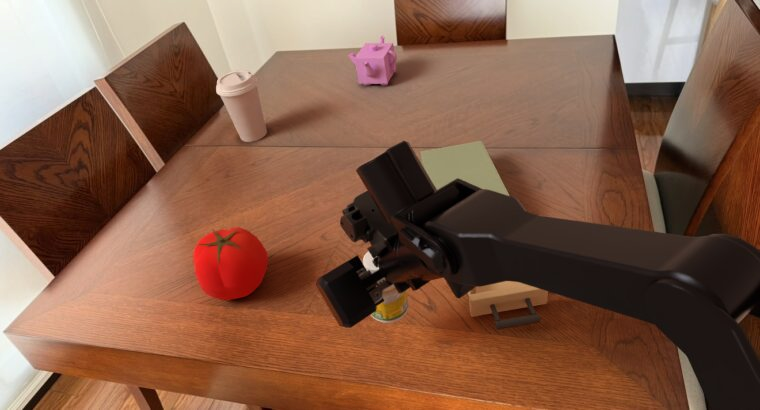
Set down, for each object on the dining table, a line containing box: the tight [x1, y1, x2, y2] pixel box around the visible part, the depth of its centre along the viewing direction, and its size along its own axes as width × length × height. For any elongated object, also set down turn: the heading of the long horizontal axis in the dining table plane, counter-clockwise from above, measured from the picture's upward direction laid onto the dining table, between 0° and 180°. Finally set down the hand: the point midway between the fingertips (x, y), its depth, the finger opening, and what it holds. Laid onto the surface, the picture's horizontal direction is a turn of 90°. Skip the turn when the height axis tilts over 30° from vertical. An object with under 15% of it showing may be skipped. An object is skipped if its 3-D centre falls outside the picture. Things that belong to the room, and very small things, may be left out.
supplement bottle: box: [362, 250, 410, 324], centre depth 65 cm, size 5×5×10 cm
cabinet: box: [419, 140, 510, 196], centre depth 92 cm, size 19×12×5 cm, turn 6°
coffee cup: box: [215, 69, 268, 143], centre depth 118 cm, size 10×10×15 cm
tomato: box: [192, 226, 269, 301], centre depth 80 cm, size 12×12×11 cm
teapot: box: [347, 35, 398, 87], centre depth 134 cm, size 18×13×10 cm
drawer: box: [467, 281, 549, 331], centre depth 76 cm, size 22×11×4 cm, turn 6°
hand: (376, 269), depth 64 cm, fingers closed on supplement bottle, 5 cm apart
